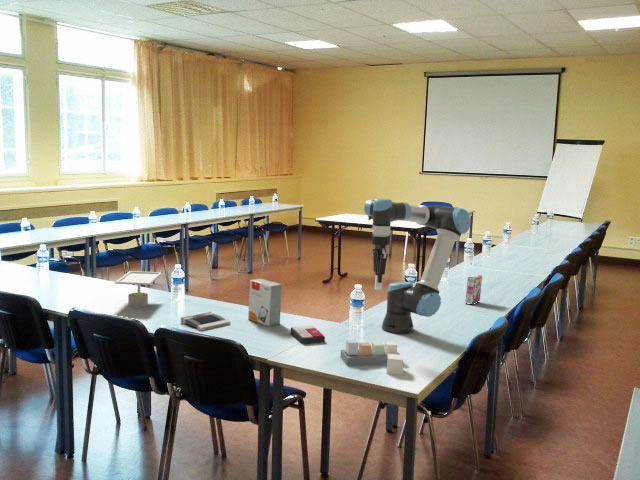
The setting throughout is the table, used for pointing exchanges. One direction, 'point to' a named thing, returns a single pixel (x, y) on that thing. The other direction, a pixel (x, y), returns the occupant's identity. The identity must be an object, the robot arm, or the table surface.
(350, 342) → the key bluegrey
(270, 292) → the hard drive box
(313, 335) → the calculator
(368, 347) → the key terracotta
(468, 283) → the candy bar box
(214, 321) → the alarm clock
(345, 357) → the key panel
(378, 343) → the key green
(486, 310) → the table surface
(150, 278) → the solar panel model
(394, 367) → the pale grey cube
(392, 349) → the key ivory
